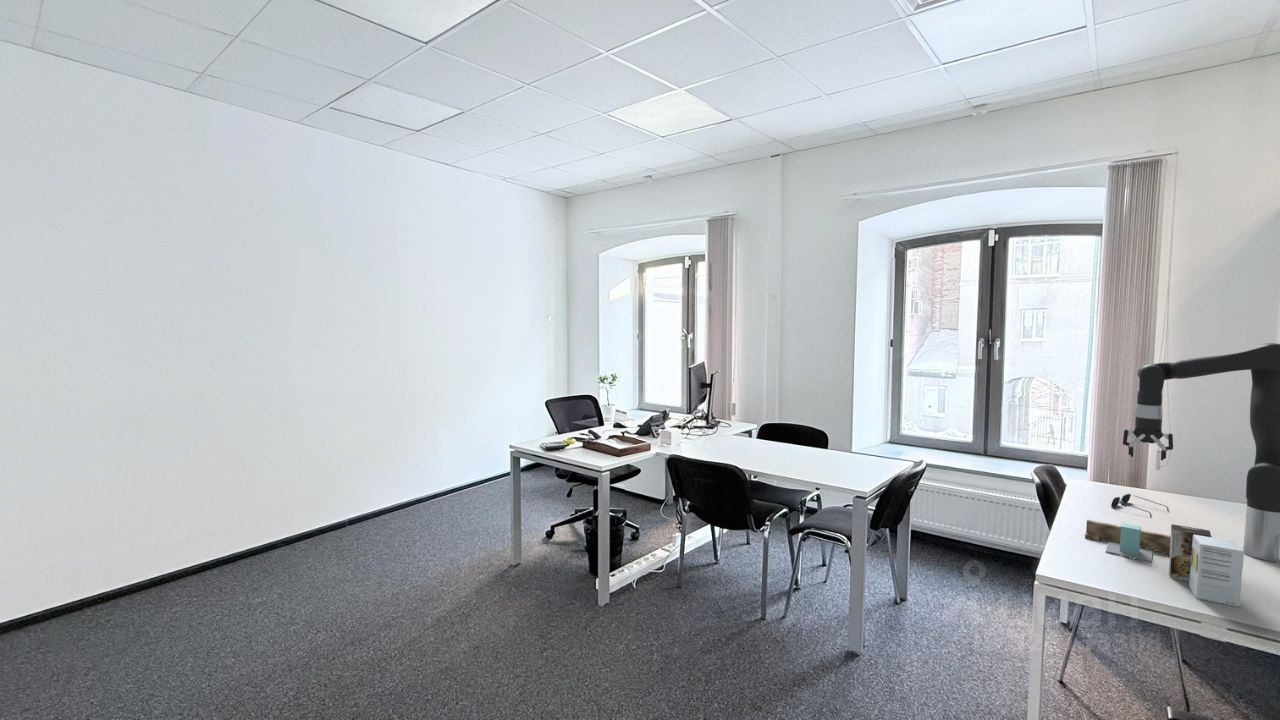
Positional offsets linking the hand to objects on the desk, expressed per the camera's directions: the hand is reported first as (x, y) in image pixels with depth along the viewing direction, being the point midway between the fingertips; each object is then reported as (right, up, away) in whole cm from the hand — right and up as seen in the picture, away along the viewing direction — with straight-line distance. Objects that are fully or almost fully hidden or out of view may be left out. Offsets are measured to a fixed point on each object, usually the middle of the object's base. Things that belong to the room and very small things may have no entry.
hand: (1146, 458), depth 212 cm
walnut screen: (-13, -31, -8) cm, 34 cm away
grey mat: (-20, -31, -15) cm, 40 cm away
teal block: (-20, -31, -15) cm, 39 cm away
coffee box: (-19, -33, -35) cm, 51 cm away
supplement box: (-23, -33, -47) cm, 62 cm away
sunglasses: (+26, -29, +32) cm, 50 cm away
